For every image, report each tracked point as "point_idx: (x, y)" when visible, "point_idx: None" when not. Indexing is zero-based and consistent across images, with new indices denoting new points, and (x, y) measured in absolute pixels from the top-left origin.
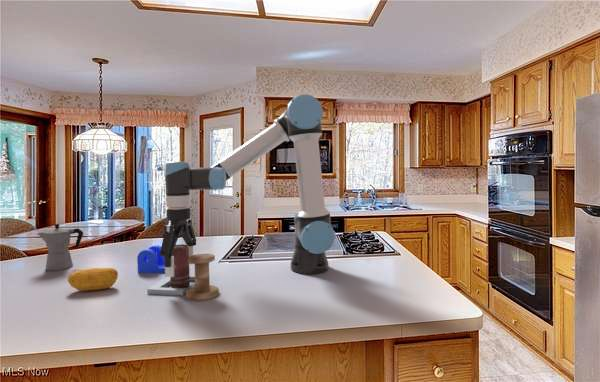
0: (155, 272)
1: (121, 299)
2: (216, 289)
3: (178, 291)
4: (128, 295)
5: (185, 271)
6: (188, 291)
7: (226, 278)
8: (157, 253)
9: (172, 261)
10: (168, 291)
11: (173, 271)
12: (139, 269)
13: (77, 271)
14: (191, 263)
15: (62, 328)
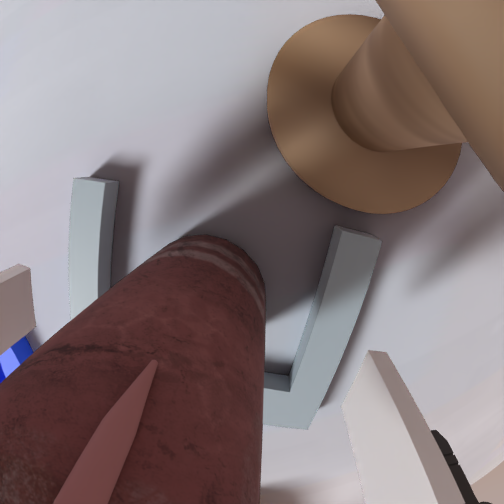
0: None
1: (345, 459)
2: (355, 25)
3: (372, 267)
4: (308, 458)
5: (228, 289)
6: (380, 199)
7: (93, 40)
8: None
9: (443, 460)
10: (349, 329)
11: (396, 380)
12: None
13: None
14: (26, 282)
15: (476, 456)
